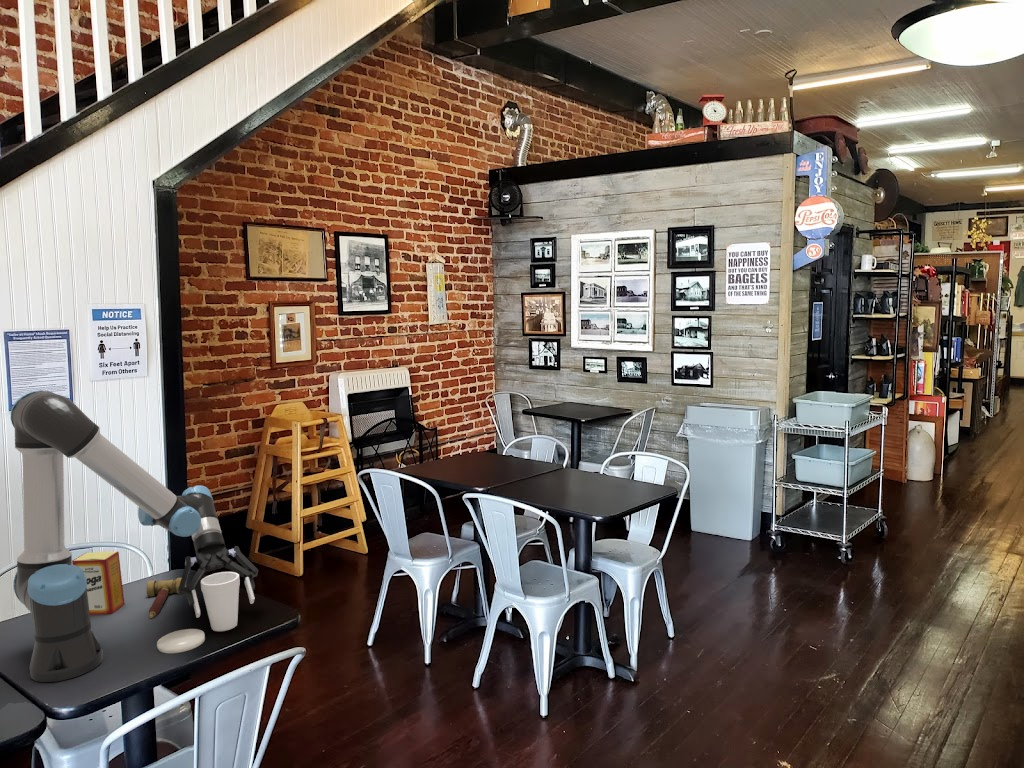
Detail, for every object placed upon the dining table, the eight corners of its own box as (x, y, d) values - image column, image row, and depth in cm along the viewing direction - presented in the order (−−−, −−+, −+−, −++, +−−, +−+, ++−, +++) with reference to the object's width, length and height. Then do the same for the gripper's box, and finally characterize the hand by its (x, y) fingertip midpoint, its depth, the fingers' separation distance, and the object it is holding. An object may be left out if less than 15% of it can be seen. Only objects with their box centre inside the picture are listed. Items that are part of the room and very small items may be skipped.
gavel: (169, 606, 212) (130, 611, 210) (171, 622, 212) (132, 627, 210) (185, 574, 232) (149, 578, 230) (187, 589, 233) (151, 593, 231)
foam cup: (251, 621, 206) (246, 574, 205) (225, 636, 198) (220, 587, 196) (224, 616, 210) (219, 570, 209) (197, 630, 202) (192, 582, 200)
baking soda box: (78, 615, 216) (71, 559, 214) (92, 605, 222) (85, 551, 220) (112, 614, 216) (105, 558, 214) (124, 604, 222) (118, 550, 220)
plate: (177, 656, 188) (176, 652, 188) (147, 648, 193) (147, 643, 193) (214, 638, 197) (214, 633, 197) (185, 630, 203) (184, 626, 202)
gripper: (252, 535, 222) (272, 602, 212) (157, 555, 209) (173, 627, 198) (255, 521, 217) (276, 589, 207) (159, 540, 204) (175, 614, 193)
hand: (226, 608), depth 202 cm, fingers open, 13 cm apart
